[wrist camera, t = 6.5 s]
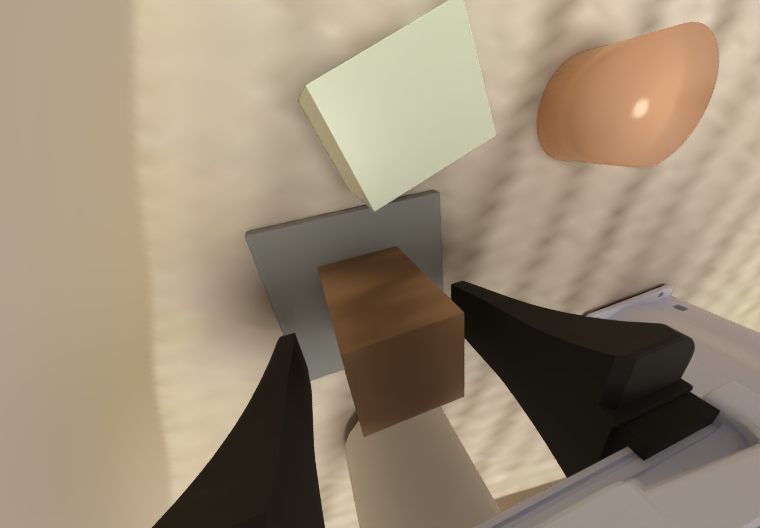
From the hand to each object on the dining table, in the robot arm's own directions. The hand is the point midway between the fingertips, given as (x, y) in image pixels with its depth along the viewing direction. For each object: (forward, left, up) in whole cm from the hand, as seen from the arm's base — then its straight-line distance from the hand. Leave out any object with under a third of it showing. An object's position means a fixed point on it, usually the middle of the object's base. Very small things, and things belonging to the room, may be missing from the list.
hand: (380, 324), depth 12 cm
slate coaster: (0, 0, -3) cm, 3 cm away
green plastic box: (-2, -8, -3) cm, 9 cm away
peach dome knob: (-13, -7, -3) cm, 15 cm away
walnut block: (0, 0, -3) cm, 3 cm away
